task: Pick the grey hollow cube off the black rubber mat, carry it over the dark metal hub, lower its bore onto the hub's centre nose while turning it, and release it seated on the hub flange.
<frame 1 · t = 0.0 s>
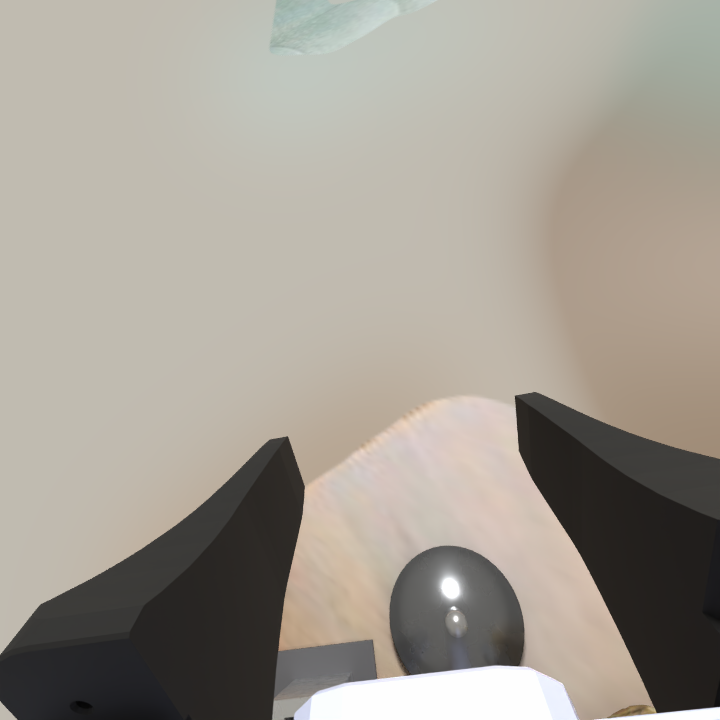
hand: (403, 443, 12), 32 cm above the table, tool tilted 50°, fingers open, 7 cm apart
grey hollow cube: (325, 714, 35), resting on mat
mat: (326, 713, 35), on the table
hub: (454, 616, 37), on the table
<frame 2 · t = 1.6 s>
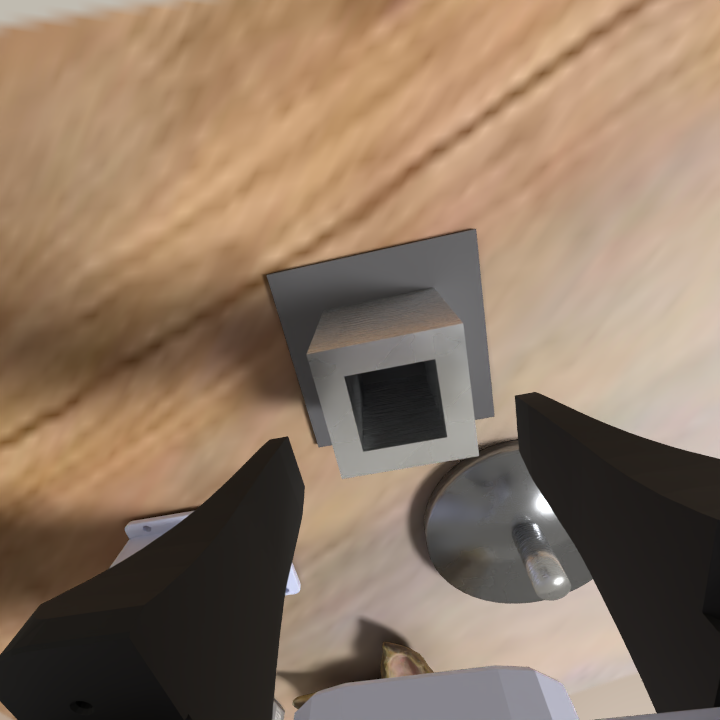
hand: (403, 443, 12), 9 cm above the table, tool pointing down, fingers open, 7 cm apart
ceramic sculpture: (403, 682, 31), on the table
grey hollow cube: (388, 350, 20), resting on mat
mat: (388, 348, 20), on the table
hub: (519, 519, 24), on the table
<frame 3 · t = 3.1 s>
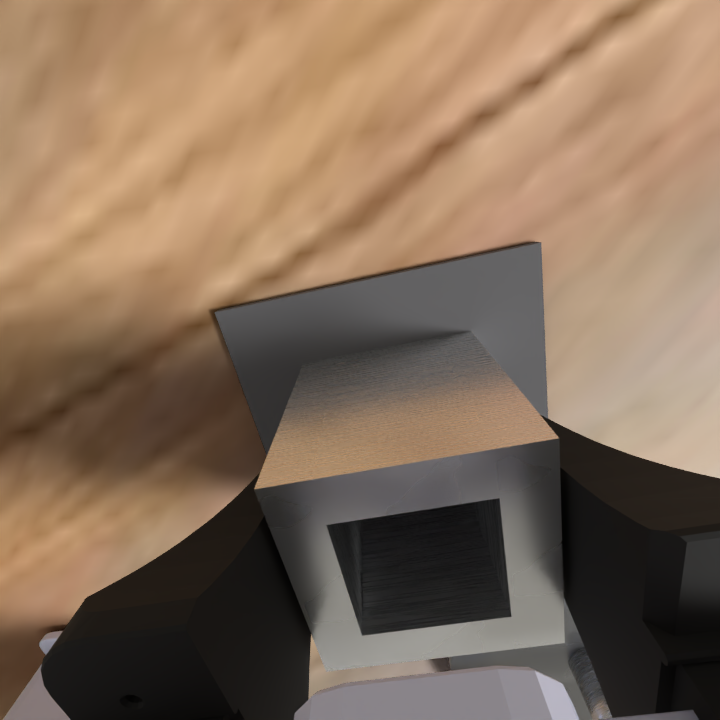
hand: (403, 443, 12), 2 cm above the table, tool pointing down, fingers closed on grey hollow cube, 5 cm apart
grey hollow cube: (400, 420, 13), resting on mat, touching gripper
mat: (399, 415, 14), on the table
hub: (575, 632, 18), on the table
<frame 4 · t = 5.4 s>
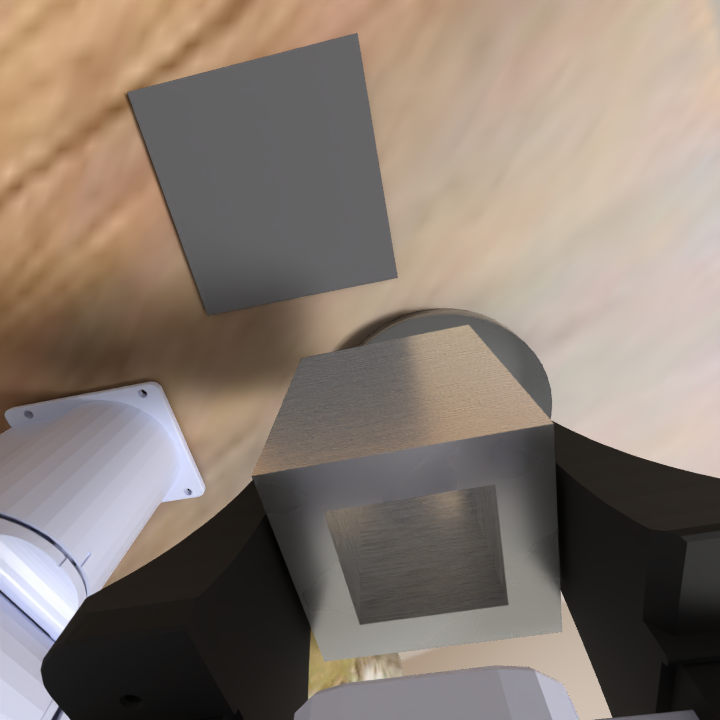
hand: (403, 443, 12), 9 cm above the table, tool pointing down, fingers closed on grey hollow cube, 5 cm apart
ceramic sculpture: (321, 608, 29), on the table
grey hollow cube: (398, 414, 13), point 8 cm above the table, touching gripper
mat: (274, 192, 18), on the table
hub: (436, 409, 22), on the table
when the fingers open (4 cm above the table, at t = 7.9 s): grey hollow cube drops 1 cm, resting on hub.
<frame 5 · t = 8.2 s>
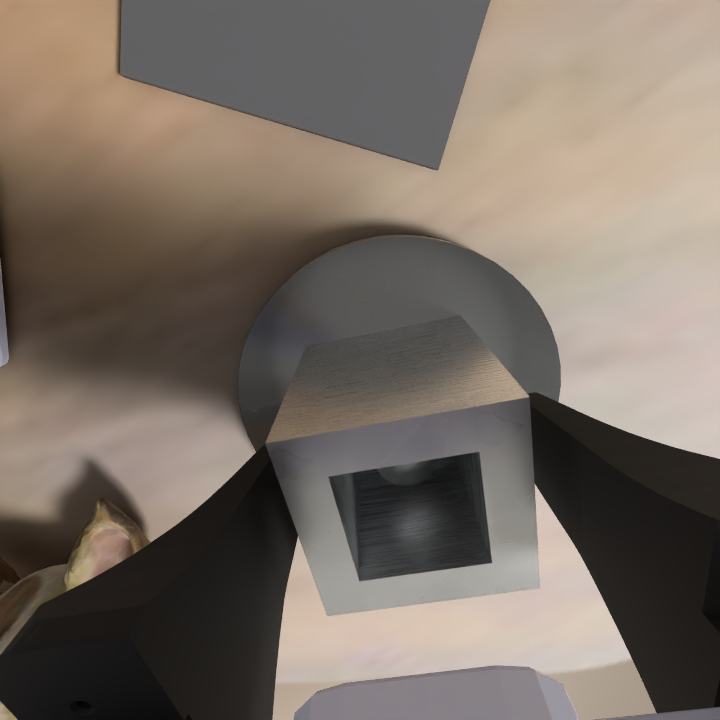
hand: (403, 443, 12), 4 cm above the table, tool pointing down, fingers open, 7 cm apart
ceramic sculpture: (113, 588, 21), on the table
grey hollow cube: (395, 399, 14), point 1 cm above the table, touching hub
hub: (395, 389, 16), on the table
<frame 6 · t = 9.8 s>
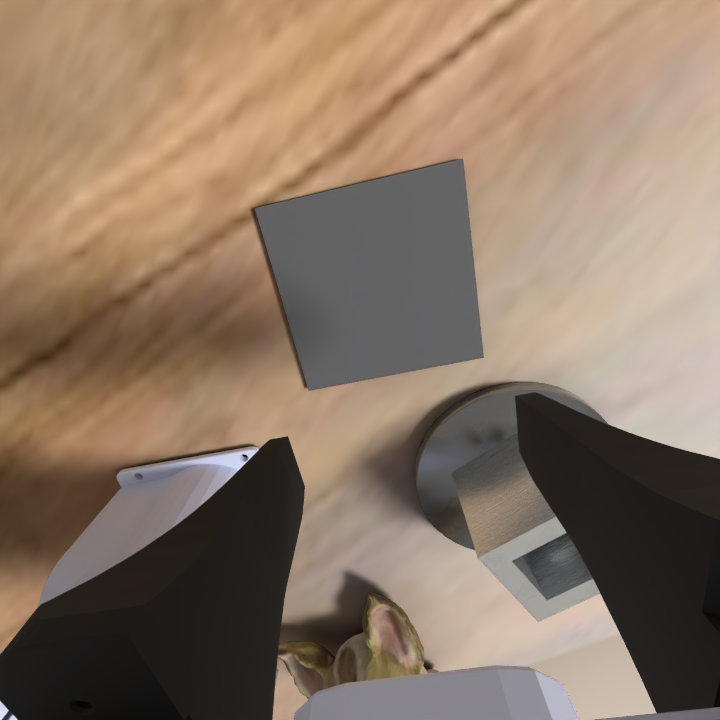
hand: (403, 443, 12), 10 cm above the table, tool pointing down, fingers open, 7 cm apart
ceramic sculpture: (380, 641, 31), on the table
grey hollow cube: (514, 478, 23), point 1 cm above the table, touching hub
mat: (376, 286, 20), on the table
hub: (510, 467, 24), on the table
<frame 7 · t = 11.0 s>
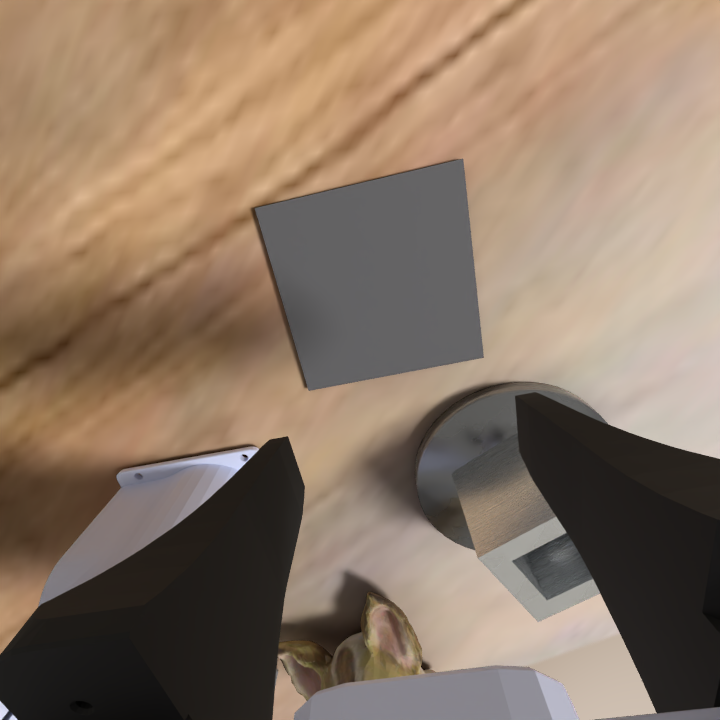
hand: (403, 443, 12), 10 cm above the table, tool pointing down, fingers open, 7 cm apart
ceramic sculpture: (377, 641, 31), on the table
grey hollow cube: (514, 478, 23), point 1 cm above the table, touching hub
mat: (376, 286, 20), on the table
hub: (510, 467, 24), on the table
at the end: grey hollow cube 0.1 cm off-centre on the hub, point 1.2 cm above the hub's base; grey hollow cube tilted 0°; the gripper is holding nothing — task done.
